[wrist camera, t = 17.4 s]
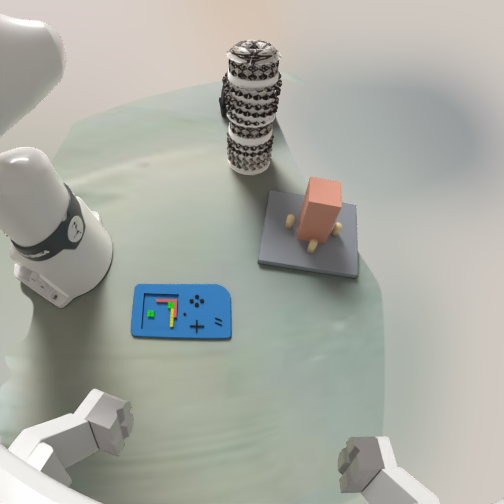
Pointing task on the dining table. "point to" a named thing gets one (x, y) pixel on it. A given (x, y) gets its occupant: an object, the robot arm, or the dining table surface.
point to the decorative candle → (251, 104)
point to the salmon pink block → (319, 209)
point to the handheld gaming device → (181, 311)
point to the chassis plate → (308, 252)
